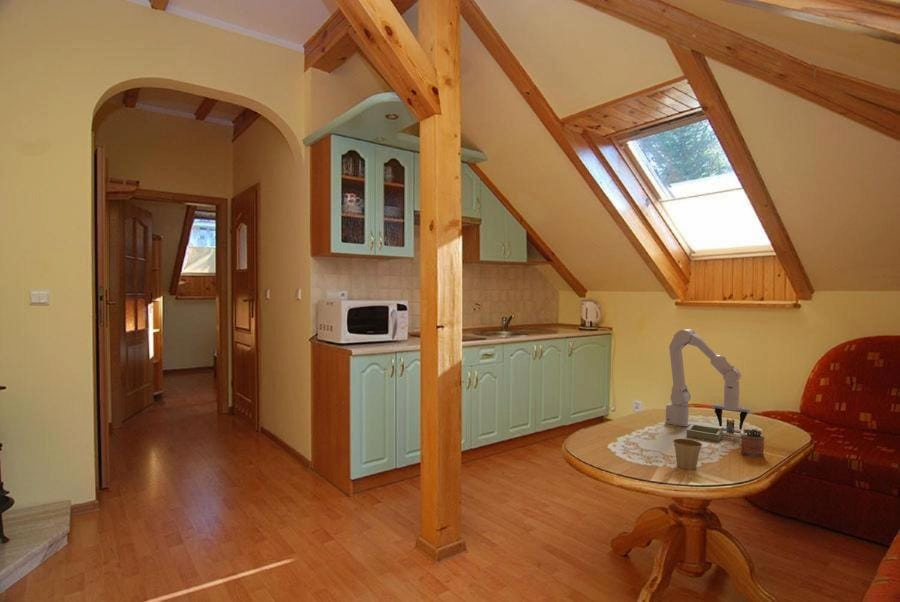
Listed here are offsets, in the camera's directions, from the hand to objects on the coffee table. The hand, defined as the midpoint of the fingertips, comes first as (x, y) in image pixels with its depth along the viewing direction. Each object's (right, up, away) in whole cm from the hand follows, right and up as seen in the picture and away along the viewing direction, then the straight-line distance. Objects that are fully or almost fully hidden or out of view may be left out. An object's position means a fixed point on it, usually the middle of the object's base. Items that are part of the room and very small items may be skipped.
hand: (730, 427), depth 223 cm
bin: (-14, -2, -6) cm, 16 cm away
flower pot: (-40, -3, -45) cm, 60 cm away
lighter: (-9, -3, -31) cm, 32 cm away
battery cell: (0, -3, 0) cm, 3 cm away
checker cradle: (0, -3, 0) cm, 3 cm away
